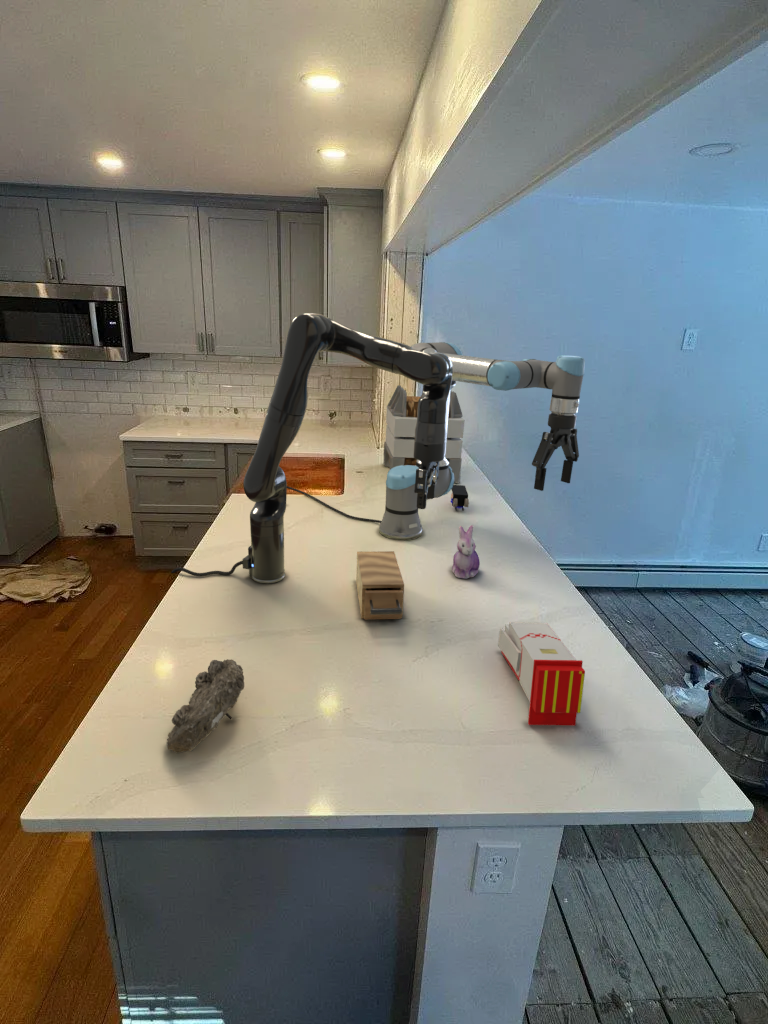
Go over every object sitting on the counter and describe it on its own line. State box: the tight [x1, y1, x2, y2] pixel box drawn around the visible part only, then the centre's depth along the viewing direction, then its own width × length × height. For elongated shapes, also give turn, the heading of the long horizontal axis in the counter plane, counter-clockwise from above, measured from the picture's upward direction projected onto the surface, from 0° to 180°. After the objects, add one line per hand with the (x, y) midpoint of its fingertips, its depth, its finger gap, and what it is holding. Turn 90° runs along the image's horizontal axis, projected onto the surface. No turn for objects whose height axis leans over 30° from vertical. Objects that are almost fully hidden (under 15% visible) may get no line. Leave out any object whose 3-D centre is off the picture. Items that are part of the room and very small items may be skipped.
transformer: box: [383, 384, 465, 484], centre depth 268 cm, size 34×33×41 cm
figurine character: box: [449, 484, 470, 512], centre depth 229 cm, size 7×8×15 cm
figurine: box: [451, 524, 481, 580], centre depth 170 cm, size 9×10×15 cm
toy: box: [497, 621, 586, 727], centre depth 121 cm, size 12×13×30 cm
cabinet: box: [355, 550, 405, 619], centre depth 153 cm, size 20×11×10 cm, turn 6°
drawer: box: [363, 588, 404, 621], centre depth 148 cm, size 25×9×8 cm, turn 6°
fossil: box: [166, 658, 245, 754], centre depth 106 cm, size 22×10×15 cm
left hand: (425, 503), depth 142 cm, fingers open, 8 cm apart
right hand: (552, 485), depth 166 cm, fingers open, 13 cm apart
